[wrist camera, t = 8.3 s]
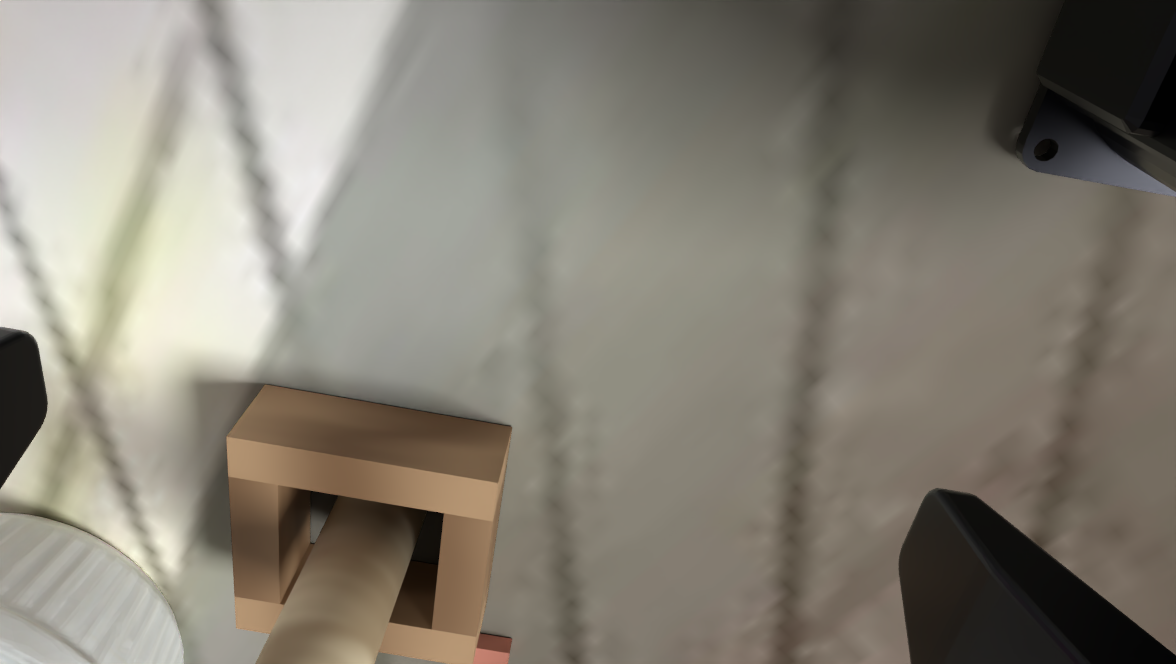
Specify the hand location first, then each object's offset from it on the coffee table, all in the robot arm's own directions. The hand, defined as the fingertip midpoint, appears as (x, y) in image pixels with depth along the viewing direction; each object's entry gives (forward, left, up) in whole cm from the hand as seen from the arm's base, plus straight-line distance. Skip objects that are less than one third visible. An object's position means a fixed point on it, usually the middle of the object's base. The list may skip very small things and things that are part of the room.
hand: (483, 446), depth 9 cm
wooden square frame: (+4, +12, -13) cm, 18 cm away
